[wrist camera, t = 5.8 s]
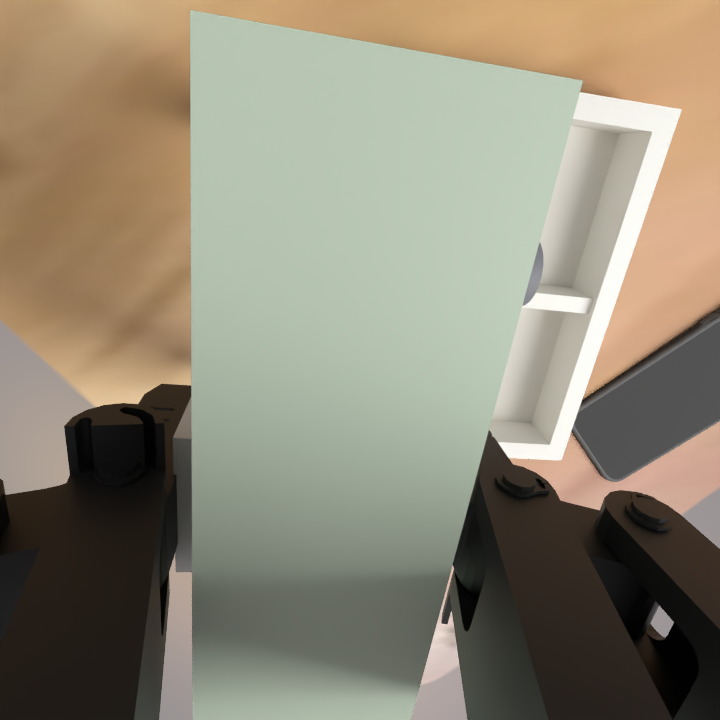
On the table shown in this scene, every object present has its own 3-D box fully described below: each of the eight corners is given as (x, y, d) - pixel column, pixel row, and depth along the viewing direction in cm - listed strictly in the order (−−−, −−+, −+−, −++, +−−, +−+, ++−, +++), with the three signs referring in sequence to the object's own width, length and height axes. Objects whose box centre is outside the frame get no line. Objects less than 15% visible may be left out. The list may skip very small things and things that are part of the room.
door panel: (358, 481, 20) (428, 884, 9) (253, 477, 19) (193, 907, 8) (412, 136, 15) (714, 103, 4) (274, 115, 14) (190, 10, 3)
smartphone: (562, 417, 30) (795, 266, 27) (555, 409, 31) (780, 262, 28) (611, 489, 33) (827, 359, 30) (603, 480, 33) (813, 353, 31)
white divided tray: (439, 81, 22) (458, 71, 19) (637, 114, 23) (681, 109, 21) (381, 423, 29) (390, 452, 26) (538, 432, 30) (561, 460, 28)
